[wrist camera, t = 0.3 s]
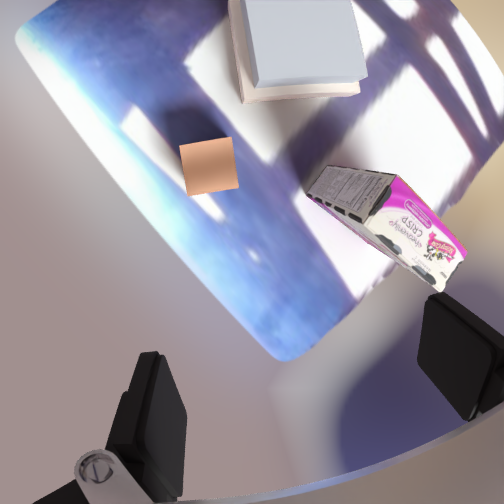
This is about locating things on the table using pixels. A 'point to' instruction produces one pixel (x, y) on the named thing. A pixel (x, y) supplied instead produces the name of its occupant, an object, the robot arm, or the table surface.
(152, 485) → the robot arm
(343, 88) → the tower base
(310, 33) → the tower top
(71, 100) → the table surface
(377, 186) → the candy bar box
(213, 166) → the terracotta block
